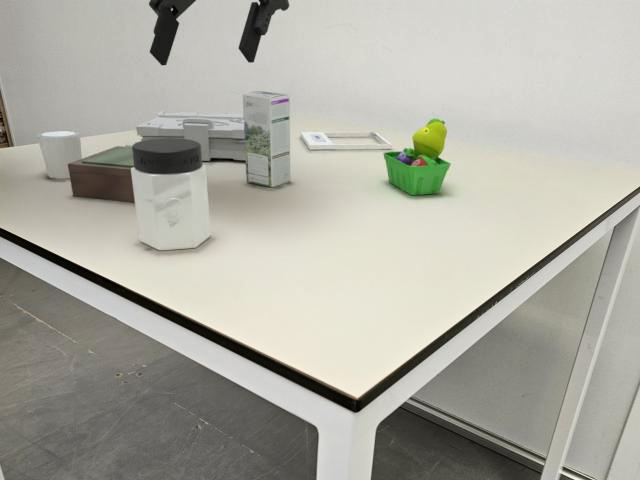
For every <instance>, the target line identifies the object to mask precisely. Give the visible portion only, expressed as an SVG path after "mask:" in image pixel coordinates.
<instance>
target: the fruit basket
mask: <svg viewBox="0 0 640 480" xmlns="http://www.w3.org/2000/svg"><path fill="white" fill-rule="evenodd" d="M445 124H446V122H445V121H444V120H440V119H439V118H436V117H434V118H431V119H430V120H429V121H428V122H427V124H426V125H425V126H424V127H422V128H420V129H418V130H417V131H415V132H414V133H413V135H412V138H411V139H412V144H413V148H408V147H405V148H403V150H401V151H400V150H399V151H386V152H383V158H384V160H385V161H384V162H385V165H386V171H387V176H388V182H389V183H390V184H391V185H393V186H395V187H397V188H399V189H401V190H402V191H403V192H405V193H407V194H408V195H410V196H417V195H418V196H422V195H431V194H433V195H435V194H439V193H440V190H441V188H442V185H443V182H444V181H445V178H446V175H447V172H448V171H449V169H450V167H451V166H452V164H451V162H449V161H446V160H445V159H443V158H441V157H440V156H441V155H442V153H443V151H444V149H445V145H446V138H447V134H448V130H447V127H446V125H445Z"/></svg>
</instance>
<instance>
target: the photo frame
mask: <svg viewBox="0 0 640 480" xmlns="http://www.w3.org/2000/svg"><path fill="white" fill-rule="evenodd" d="M330 137H331V138H333V137H334V138H335V137H336V138H337V137H339V138H340V137H345V138H346V137H349V138H350V137H374V139H376V140H377V141H378V142H380V143H337V144H336V143H335V144H334V142H333V141H332V140H331V139H330ZM300 138H301V140H302V141H303V142H304V144H305V145H306V146H307V148H308V150H309V151H310V150H389V149H390V150H392V148H393V144H392V143H391V142H390V141H388V140H387V139H386V138H384V137H383V136H382V135H381V134H379V133H378V132H377V131H300Z"/></svg>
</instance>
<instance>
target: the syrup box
mask: <svg viewBox="0 0 640 480" xmlns="http://www.w3.org/2000/svg"><path fill="white" fill-rule="evenodd" d="M242 109H243V114H244V135H245V158H246V160H245V178H246V179H245V180H246V183H249V184H254V185H259V186H264V187H268V188H275V187H278V186H281V185H285V184H288V183H289V182H291V180H292V178H291V176H292V175H291V95H290V94H289V93H282V92H273V91H263V90H261V91H260V90H257V91H256V90H255V91H250V92H247V93H244V94H242Z"/></svg>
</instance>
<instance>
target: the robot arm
mask: <svg viewBox="0 0 640 480" xmlns="http://www.w3.org/2000/svg"><path fill="white" fill-rule="evenodd" d="M196 1H197V0H150V1H148V6H149V8H151V10H152V11H153V12H154V13H155V14H156V16H157V18H156V22H155V24H154V28H153V34H154V36H153V39H152V43H151V47H150V48H149V54H151V56H152V57H153V58H154V59H155V60H156V61H157V62H158V63H159V64H160V65H161V66H167V64H168V61H169V58H170V55H171V51H172V48H173V45H174V41H175V38H176V36H177V33H178V29H179V27H180V22H179V20H178V19H179V17H181V15H183V14H184V13H185V12H186V11H187V10H188V9H189V8H190V7H191V6H192V5H193V4H194V3H195V2H196ZM289 8H290V1H289V0H258V2H257V1H252V2H251V4H250V7H249V10H248V14H247V18H246V21H245V24H244V26H243V32H242V34H241V38H240V41H239V45H238V50H239V51H240V53H241V54H242V56H243V57H244V59H245V60H246V61H247V63H248V64H249V63H250V64H251V63H255V61H256V56H257V54H258V53H257V52H258V49H259V45H260V43H261V40H262V39H261V38H262V36H266V34H267V32H268V31H269V27H270V23H271V20H272V16H273V15H275V13H276V11H279V10H281V12H285V11H287V10H288V9H289Z"/></svg>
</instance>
